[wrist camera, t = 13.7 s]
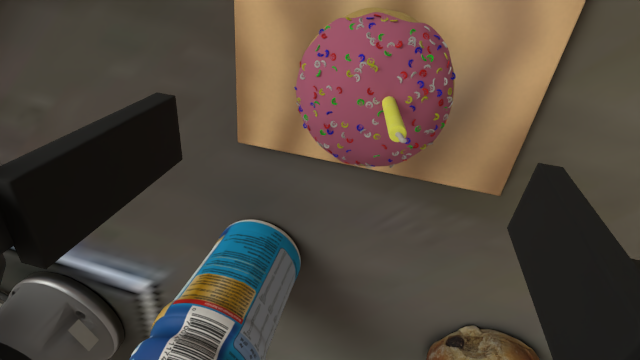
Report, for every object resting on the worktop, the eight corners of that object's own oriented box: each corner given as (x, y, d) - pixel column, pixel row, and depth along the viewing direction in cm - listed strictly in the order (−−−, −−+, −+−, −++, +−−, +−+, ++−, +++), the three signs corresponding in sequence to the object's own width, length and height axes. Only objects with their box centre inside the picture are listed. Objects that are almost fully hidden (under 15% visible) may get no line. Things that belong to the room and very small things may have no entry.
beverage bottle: (321, 269, 34) (224, 559, 17) (257, 291, 38) (127, 545, 21) (268, 201, 32) (95, 465, 15) (205, 232, 35) (12, 469, 19)
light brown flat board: (240, 139, 29) (237, 142, 29) (236, -71, 22) (232, -72, 21) (498, 191, 26) (500, 196, 26) (595, -32, 19) (600, -32, 18)
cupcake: (430, -24, 20) (439, -16, 10) (463, 115, 23) (494, 226, 13) (295, 33, 23) (200, 84, 13) (341, 148, 27) (293, 258, 17)
